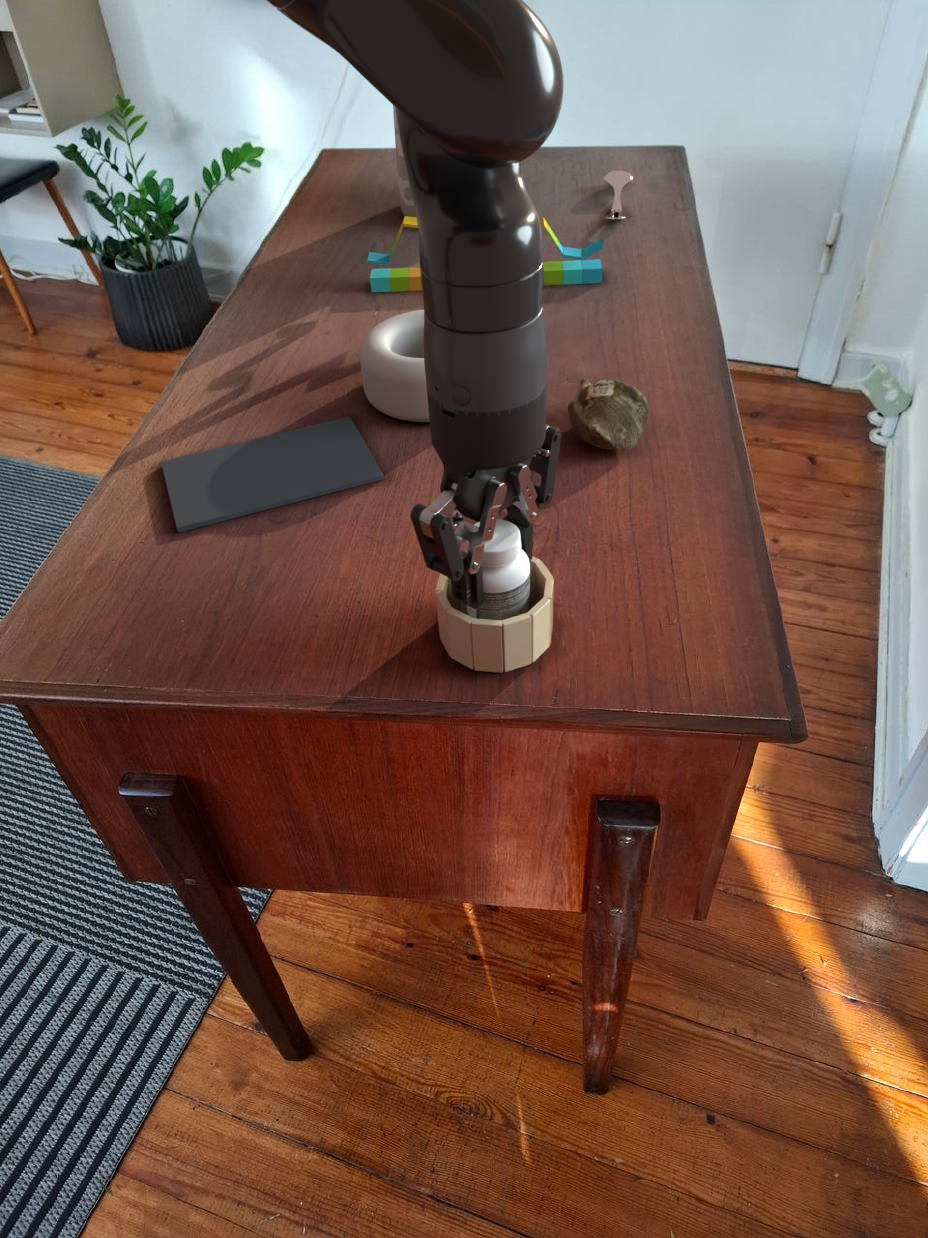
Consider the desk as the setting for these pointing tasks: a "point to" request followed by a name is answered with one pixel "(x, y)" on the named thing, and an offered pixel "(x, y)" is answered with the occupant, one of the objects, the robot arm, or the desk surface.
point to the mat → (267, 473)
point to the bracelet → (498, 627)
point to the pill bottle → (503, 576)
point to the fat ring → (396, 367)
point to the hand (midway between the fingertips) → (494, 579)
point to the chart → (552, 271)
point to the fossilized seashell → (609, 414)
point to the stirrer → (617, 191)
